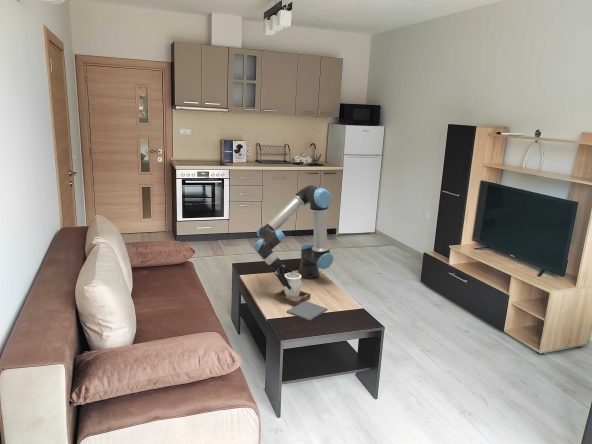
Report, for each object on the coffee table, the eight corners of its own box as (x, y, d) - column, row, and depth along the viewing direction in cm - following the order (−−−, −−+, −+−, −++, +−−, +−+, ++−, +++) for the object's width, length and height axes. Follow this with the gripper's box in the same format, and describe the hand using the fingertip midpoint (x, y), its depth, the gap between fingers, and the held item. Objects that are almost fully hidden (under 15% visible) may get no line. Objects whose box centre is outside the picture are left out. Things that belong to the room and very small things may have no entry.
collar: (289, 291, 288) (289, 286, 287) (310, 298, 279) (310, 293, 278) (273, 298, 276) (273, 294, 275) (295, 306, 267) (295, 301, 266)
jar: (298, 303, 271) (299, 279, 267) (281, 301, 273) (282, 277, 269) (302, 295, 281) (303, 273, 278) (285, 294, 283) (286, 271, 279)
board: (305, 302, 273) (305, 300, 273) (327, 310, 264) (327, 308, 264) (286, 312, 259) (286, 310, 259) (309, 320, 250) (309, 319, 250)
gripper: (275, 259, 287) (298, 285, 287) (262, 271, 266) (287, 299, 266) (283, 252, 284) (306, 279, 284) (271, 263, 263) (296, 292, 263)
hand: (297, 289), depth 275 cm, fingers closed on jar, 10 cm apart
